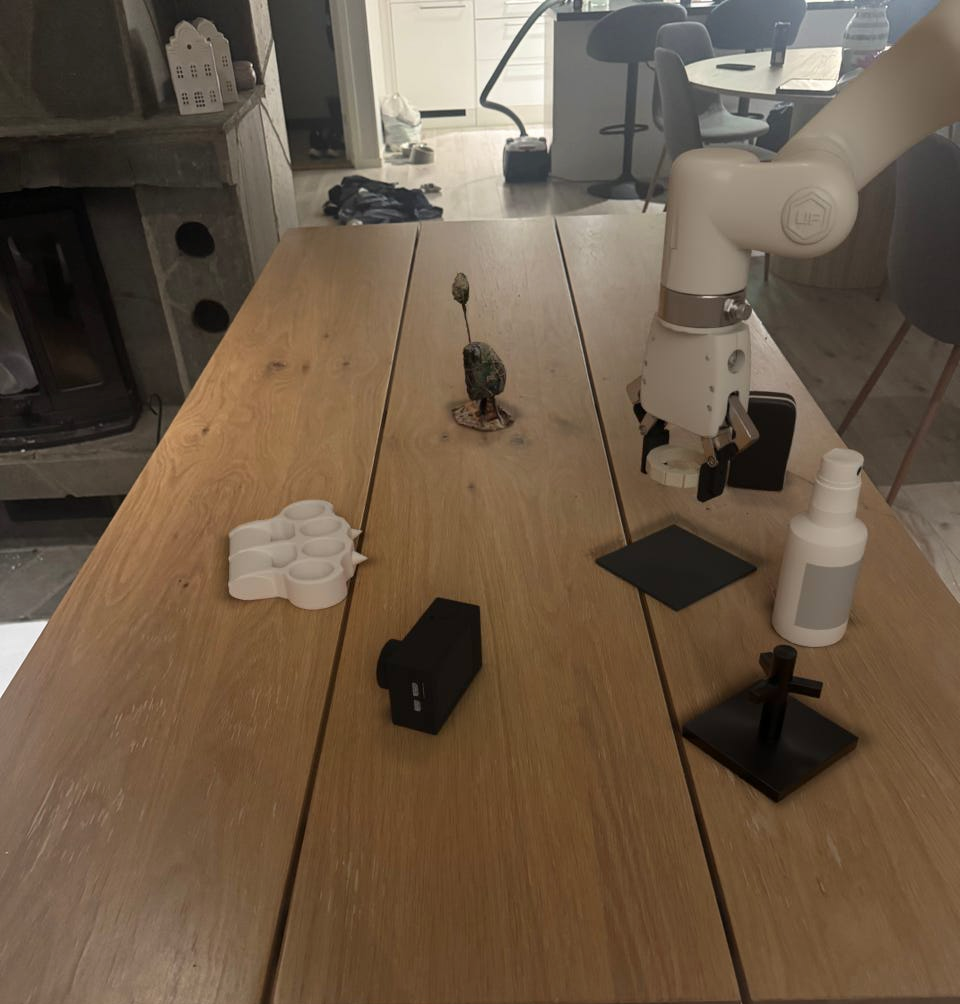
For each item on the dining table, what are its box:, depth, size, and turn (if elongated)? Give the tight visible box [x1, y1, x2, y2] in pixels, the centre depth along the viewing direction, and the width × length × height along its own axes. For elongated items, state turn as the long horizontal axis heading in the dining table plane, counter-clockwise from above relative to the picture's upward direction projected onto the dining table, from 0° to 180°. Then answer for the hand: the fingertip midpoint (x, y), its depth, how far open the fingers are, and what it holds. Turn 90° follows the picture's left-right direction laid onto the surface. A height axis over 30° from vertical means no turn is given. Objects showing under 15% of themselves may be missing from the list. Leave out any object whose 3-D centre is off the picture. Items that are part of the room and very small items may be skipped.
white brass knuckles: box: [227, 499, 369, 611], centre depth 104 cm, size 3×18×15 cm
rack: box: [681, 644, 860, 804], centre depth 77 cm, size 10×10×10 cm
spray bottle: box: [771, 447, 869, 648], centre depth 87 cm, size 7×7×18 cm
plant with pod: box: [451, 272, 515, 432], centre depth 127 cm, size 8×11×20 cm
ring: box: [646, 442, 707, 489], centre depth 95 cm, size 7×7×1 cm
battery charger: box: [725, 390, 798, 492], centre depth 113 cm, size 7×4×11 cm, turn 75°
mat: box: [594, 523, 758, 612], centre depth 102 cm, size 12×12×1 cm
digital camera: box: [375, 596, 483, 736], centre depth 84 cm, size 10×5×7 cm, turn 157°
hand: (681, 482), depth 96 cm, fingers closed on ring, 7 cm apart
